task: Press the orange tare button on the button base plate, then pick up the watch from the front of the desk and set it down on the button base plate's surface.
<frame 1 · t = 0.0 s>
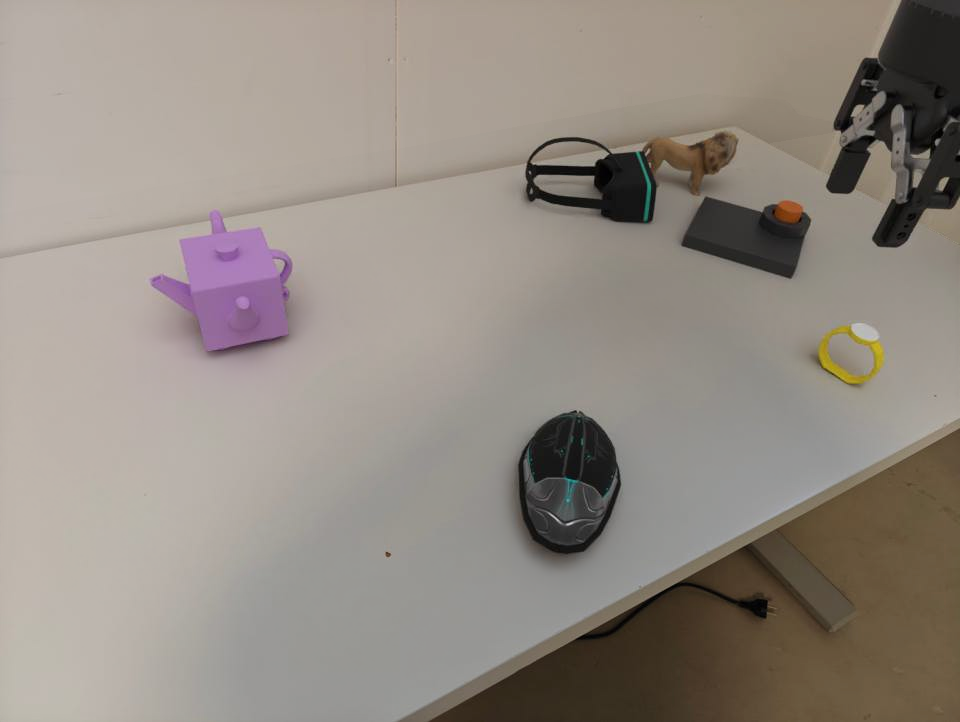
hand: (860, 216, 56), 20 cm above the table, tool pointing down, fingers open, 8 cm apart
computer mouse: (565, 488, 59), on the table
lion figurine: (675, 186, 103), on the table
watch: (838, 375, 73), on the table
virtual reality headset: (583, 203, 97), on the table
button base plate: (743, 241, 92), on the table
tare button: (788, 212, 90), point 4 cm above the table, slide at 0.1 cm
teapot: (235, 327, 72), on the table
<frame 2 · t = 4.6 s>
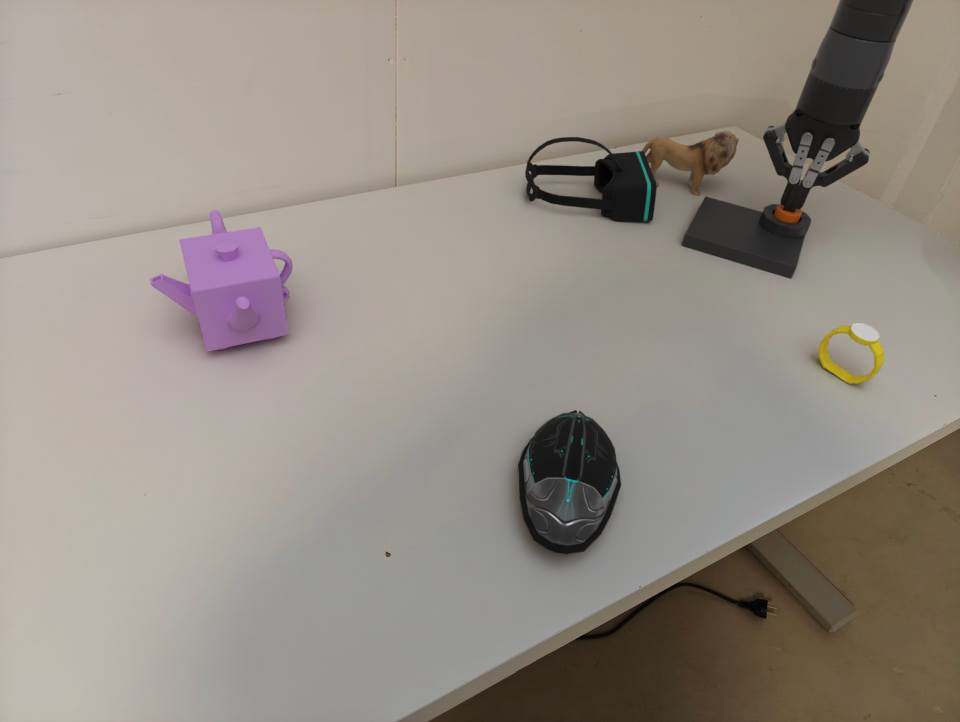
hand: (789, 208, 90), 4 cm above the table, tool pointing down, fingers closed
tare button: (787, 215, 91), point 4 cm above the table, slide at -0.3 cm, touching gripper
everything else where it was.
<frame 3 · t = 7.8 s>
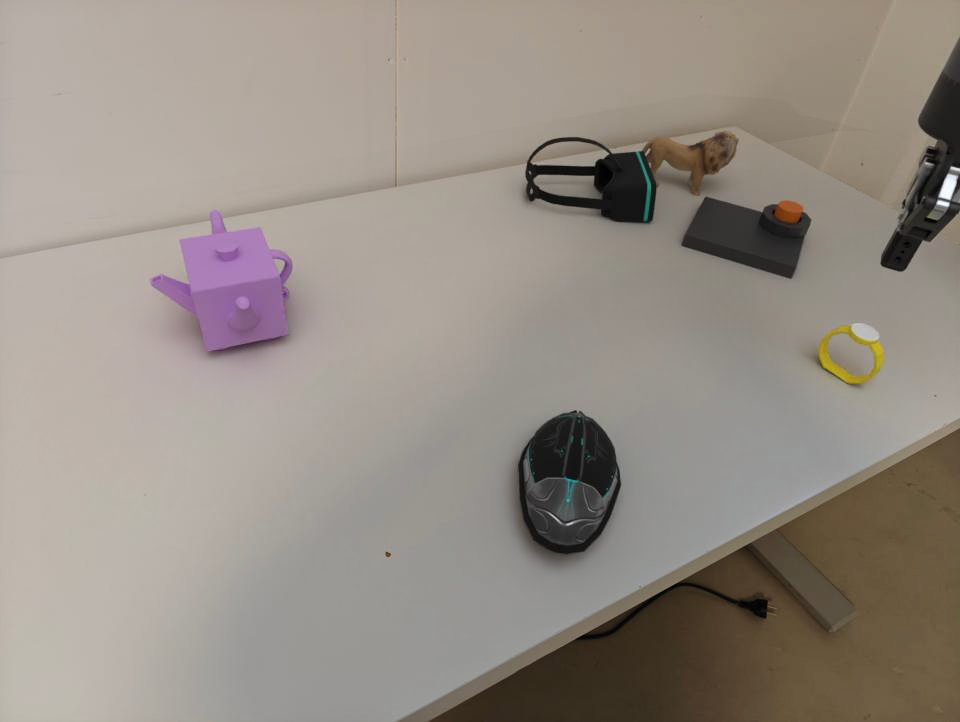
hand: (891, 265, 64), 13 cm above the table, tool pointing down, fingers closed
tare button: (788, 212, 90), point 4 cm above the table, slide at 0.1 cm
everything else where it was.
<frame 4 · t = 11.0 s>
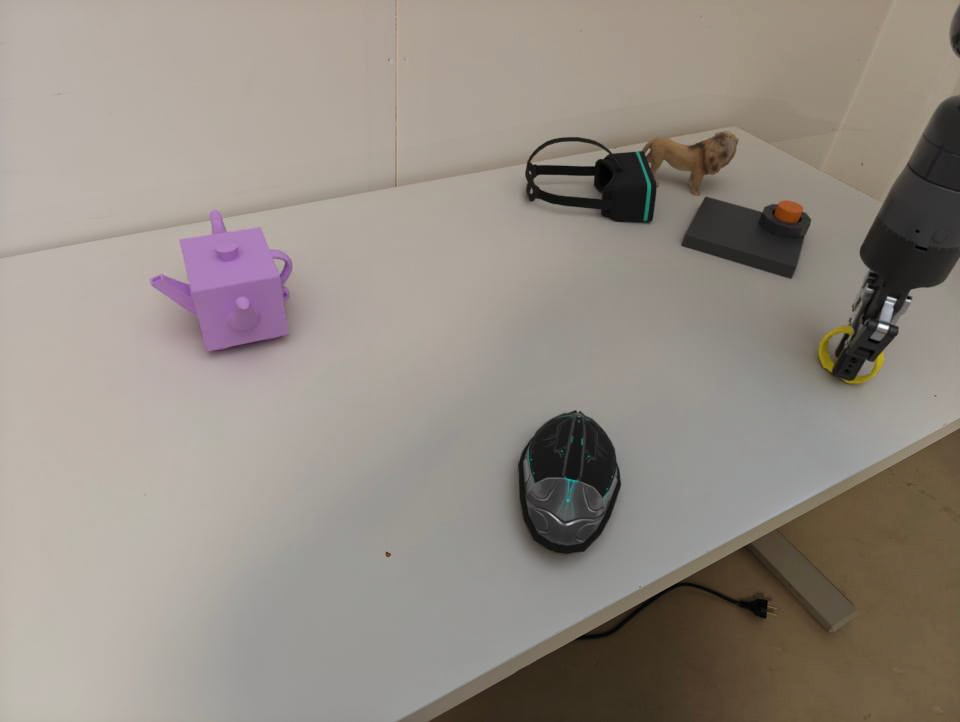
hand: (843, 366, 72), 1 cm above the table, tool pointing down, fingers closed on watch, 2 cm apart
watch: (838, 375, 73), on the table, touching gripper
everything else where it was.
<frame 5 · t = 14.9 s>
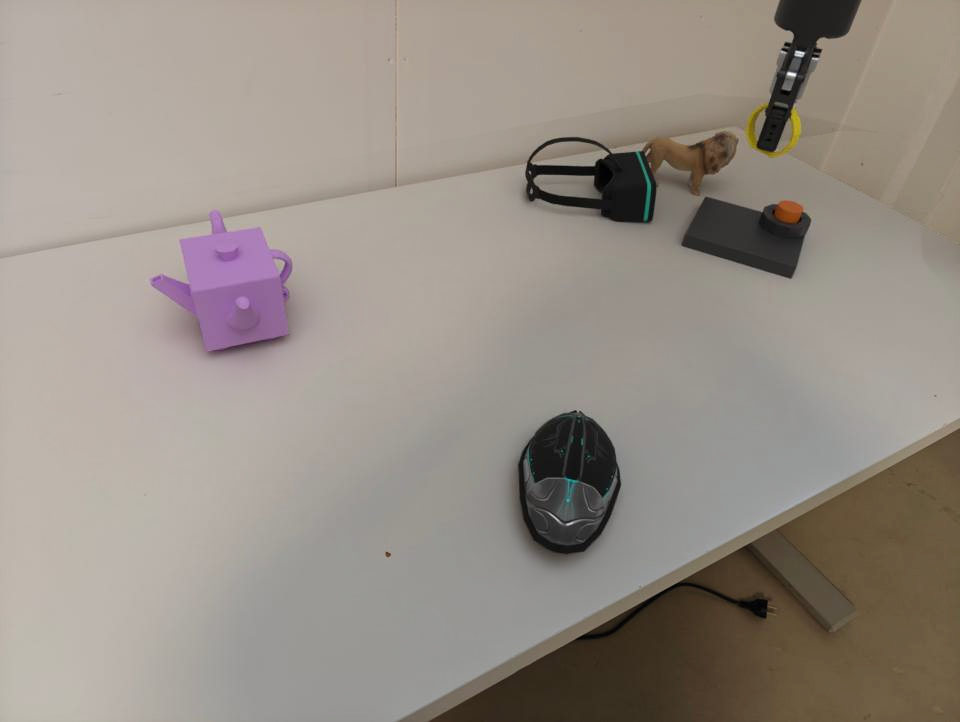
hand: (767, 143, 80), 15 cm above the table, tool pointing down, fingers closed on watch, 2 cm apart
watch: (763, 154, 81), point 14 cm above the table, touching gripper
everything else where it was.
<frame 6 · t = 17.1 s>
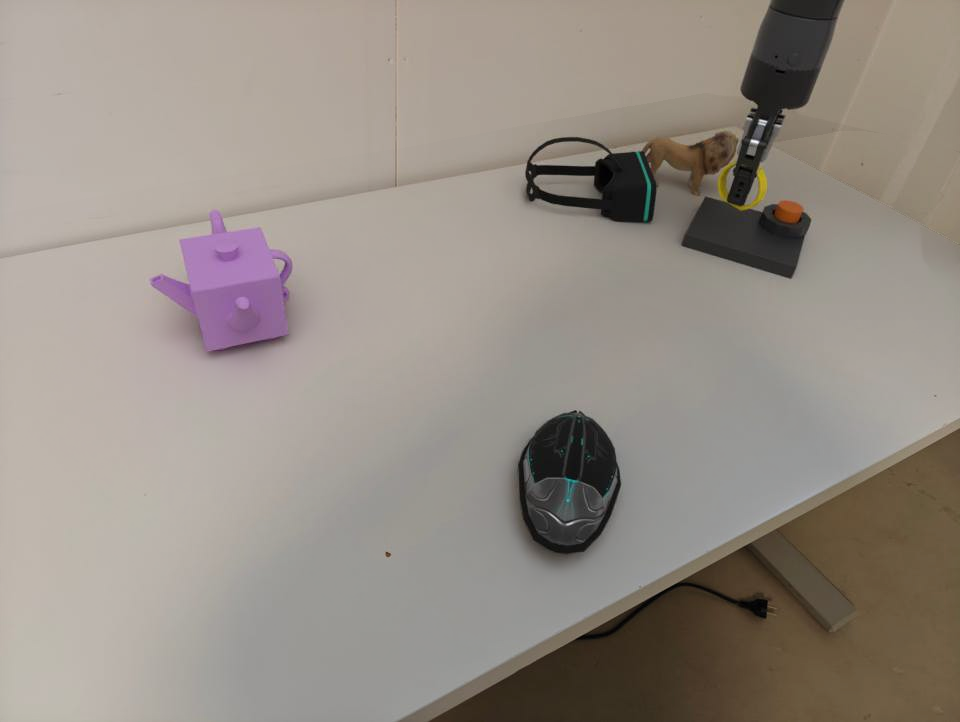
hand: (737, 197, 86), 7 cm above the table, tool pointing down, fingers closed on watch, 2 cm apart
watch: (734, 206, 87), point 6 cm above the table, touching gripper
everything else where it was.
when the fingers open (3 cm above the table, at t = 18.6 s): watch stays where it is, resting on button base plate.
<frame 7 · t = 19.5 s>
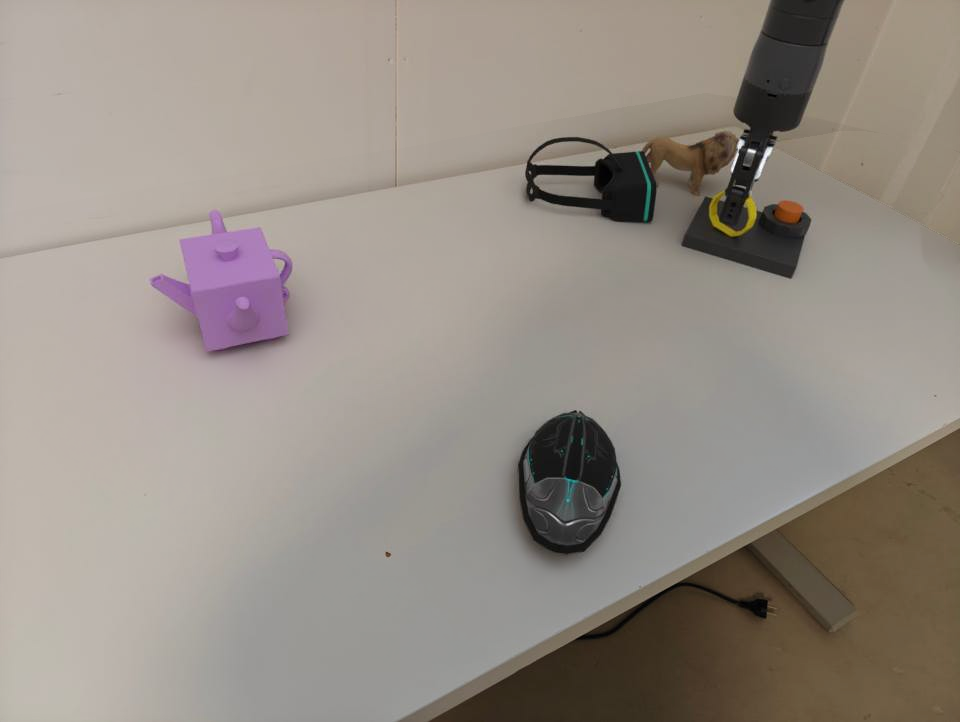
hand: (733, 208, 87), 5 cm above the table, tool pointing down, fingers open, 8 cm apart
watch: (724, 232, 90), point 2 cm above the table, touching button base plate
everything else where it was.
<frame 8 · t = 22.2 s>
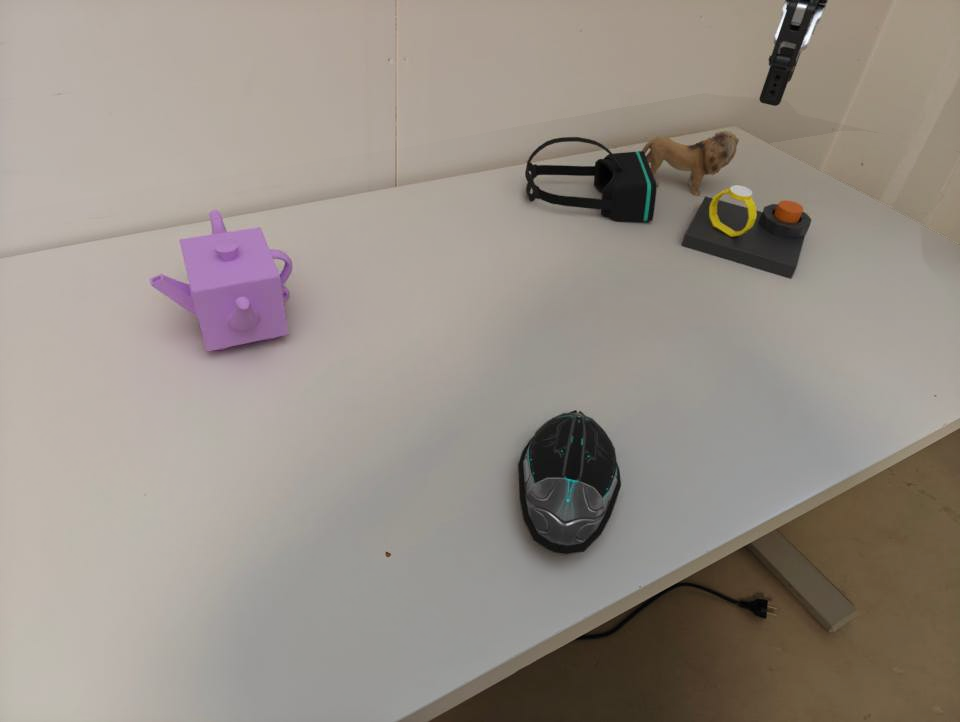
hand: (774, 91, 78), 20 cm above the table, tool pointing down, fingers open, 8 cm apart
nothing on the table moved.
at the end: tare button pushed in 0.9 cm at the most during the clip, back to where it started at the end; tare button slide at 0.1 cm; watch touching button base plate; watch inside the target area on the button base plate (0.8 cm from its centre), point 1.7 cm above the button base plate's base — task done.
